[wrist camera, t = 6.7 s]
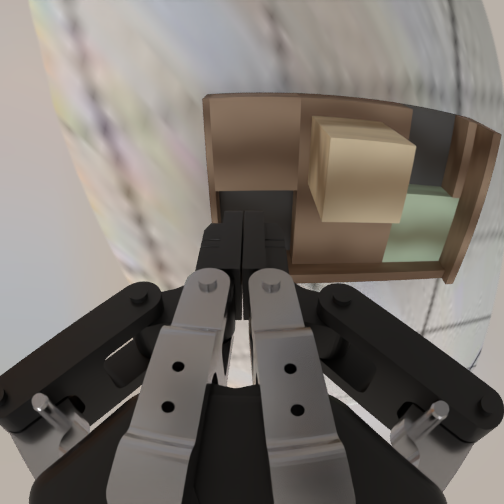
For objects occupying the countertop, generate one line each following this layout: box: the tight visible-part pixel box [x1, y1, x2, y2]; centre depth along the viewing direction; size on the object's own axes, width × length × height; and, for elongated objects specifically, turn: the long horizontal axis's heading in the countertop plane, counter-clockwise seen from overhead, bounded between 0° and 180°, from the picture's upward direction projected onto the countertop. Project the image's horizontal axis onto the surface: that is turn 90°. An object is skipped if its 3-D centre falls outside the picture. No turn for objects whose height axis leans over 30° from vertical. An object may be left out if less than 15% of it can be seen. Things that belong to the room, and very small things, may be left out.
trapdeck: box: [202, 93, 501, 284], centre depth 25 cm, size 16×24×5 cm, turn 91°
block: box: [308, 116, 416, 223], centre depth 20 cm, size 6×6×6 cm
